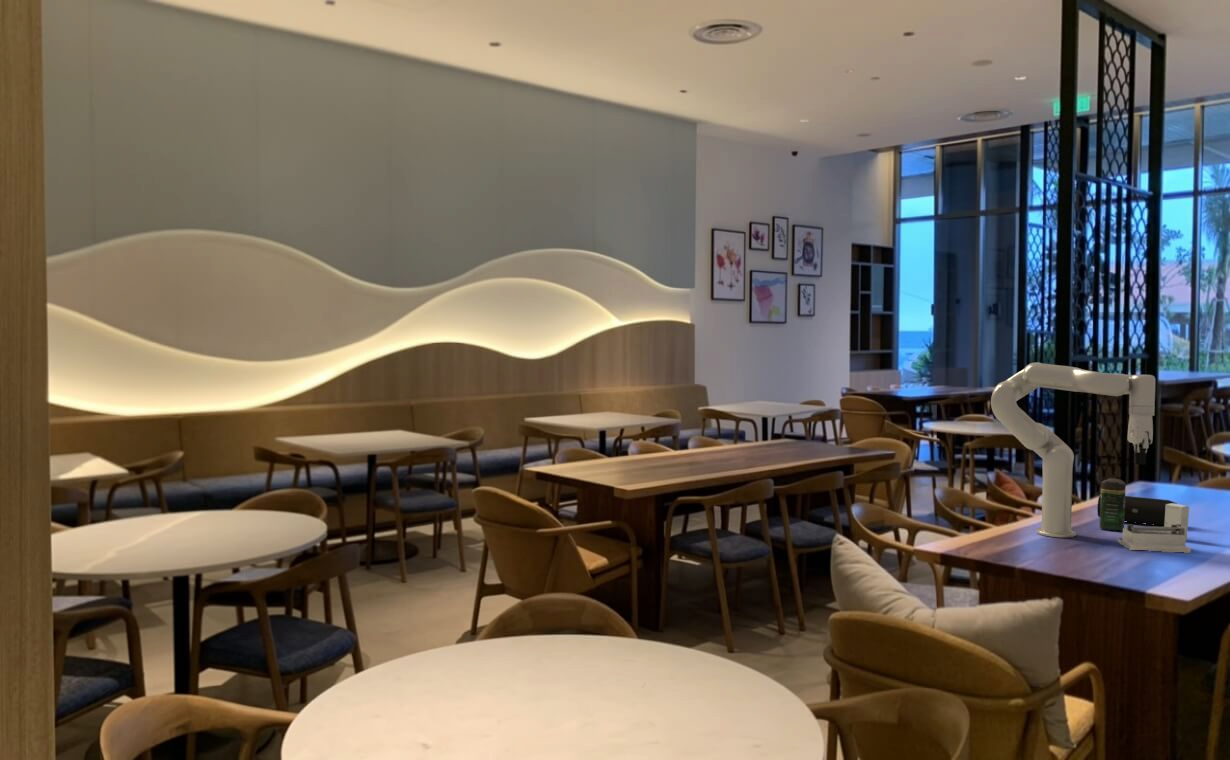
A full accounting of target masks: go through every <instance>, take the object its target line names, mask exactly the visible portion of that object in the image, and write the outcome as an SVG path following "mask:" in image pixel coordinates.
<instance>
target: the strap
mask: <svg viewBox="0 0 1230 760" xmlns="http://www.w3.org/2000/svg"><path fill="white" fill-rule="evenodd" d="M1132 527H1137V528H1139V531H1178V529H1179V527H1164V526H1148V525H1147V526H1143V525H1142V526H1138V525H1137V526H1136V525H1135V526H1134V525H1133V526H1129V528H1130V529H1131V530H1132Z"/></svg>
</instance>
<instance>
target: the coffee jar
mask: <svg viewBox="0 0 1230 760" xmlns="http://www.w3.org/2000/svg"><path fill="white" fill-rule="evenodd" d="M1126 487H1127V486H1126V482H1124V480H1122V479H1119V478H1114V477H1113V478H1111V477H1110V478H1107V479H1104V480H1103V481H1101V485H1100V496H1101V503H1100V517H1099V529H1101V528H1102V529H1101V530H1106V529H1108V530H1114V531H1117V530H1121V531H1123V528H1125V522H1124V516H1125V496H1126ZM1108 530H1107V531H1108Z"/></svg>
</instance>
